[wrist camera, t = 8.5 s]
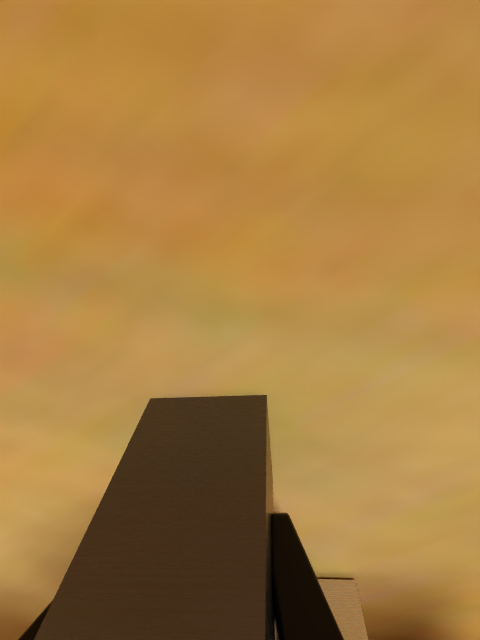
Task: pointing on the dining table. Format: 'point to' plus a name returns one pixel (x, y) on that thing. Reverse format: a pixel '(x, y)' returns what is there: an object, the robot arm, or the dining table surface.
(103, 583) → the grey angular piece
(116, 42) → the dining table surface
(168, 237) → the dining table surface
